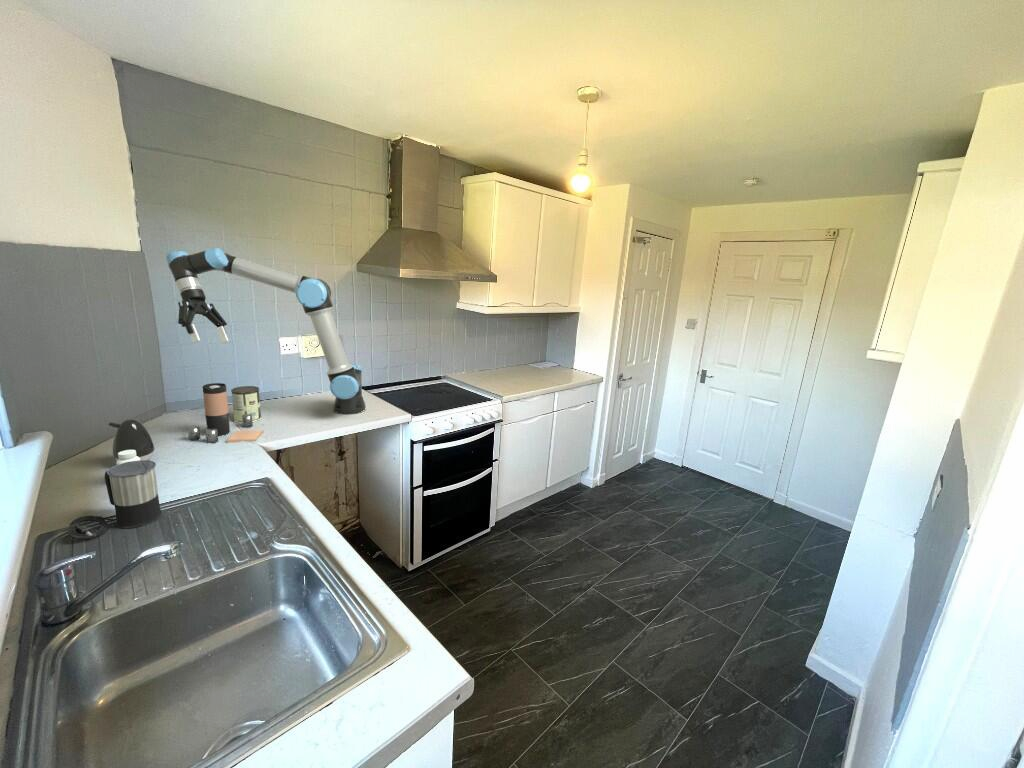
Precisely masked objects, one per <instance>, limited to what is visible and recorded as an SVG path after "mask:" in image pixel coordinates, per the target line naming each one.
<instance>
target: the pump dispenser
mask: <svg viewBox="0 0 1024 768" xmlns="http://www.w3.org/2000/svg"><path fill="white" fill-rule="evenodd" d="M108 426H110V427H112V428H116V430H115V433H114V437H113V441H112V456H113V458H114V459H115V460H116V461H117V460H119V458H118V453H119V452H121V451H125V450H135V451H136V456H138V457H139V458H140V460H148V461H150V459H151V458H152V457H153V455H154V452H155V444H154V442H153V439H152V436H151V435H150V432H149V431H148V429H147V428H146V427H145V425H144V424H143V423H142V422H140V420H137V419H136V418H135V419H134V418H129V419H125V420H123V421H122V422H120V423H116V422H109V423H108Z"/></svg>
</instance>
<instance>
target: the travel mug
mask: <svg viewBox="0 0 1024 768" xmlns="http://www.w3.org/2000/svg"><path fill="white" fill-rule="evenodd" d="M202 395H203V404H204V406H203V407H204V414H205V415H204V416H205V422H206V429H209V428H217V433H218V437H223V436H222V435H224V436H226V434H227V435H229V434H230V433H229V432H231V429H230V411H229V410H230V409H229V401H228V393H227V385H226V384H225V383H221V382H215V383H214V382H213V383H206V384H204V385H202ZM228 433H229V434H228Z"/></svg>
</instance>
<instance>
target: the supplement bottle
mask: <svg viewBox="0 0 1024 768" xmlns="http://www.w3.org/2000/svg"><path fill="white" fill-rule="evenodd" d="M118 458H119V460H116V462H115V464H116V465H118V464H122V463H125V462H130V461H138V460H140V458H139V457H138V456H136V451H135V450H125V451H121V452H119V453H118ZM116 465H115V466H116Z"/></svg>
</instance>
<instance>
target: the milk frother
mask: <svg viewBox="0 0 1024 768" xmlns="http://www.w3.org/2000/svg"><path fill="white" fill-rule="evenodd" d="M156 465H157V464H156V462H155V461H153V460H138V461H130V462H125V463H122V464H118V465H113V466H112V467H110V468H108V469H107V470H106V471H105V473H104V482H105V486H106V491H107V496H108V499H109V504H110V505H112V506H114V511H115V518H108V517H104V516H98V515H84V516H80V517H77V518H75V519H74V520H72V521H71V522H70V523H69V524H68V526H67V530H66V533H67V536H69V538H71V539H73V540H76V541H77V540H78V541H85V540H91V539H94V538H96V537H99V536H101V535H103V534H104V533H105V532H106V531H107V530H108V527H109V523H108V522H107V521H115V523H114V524H115V526H116V527H117V528H120V529H134V528H140V527H143V526H147V525H148V524H152V523H153V522H155V521H157V520H158V519H159V518H161V517H162V515H163V510H162V509H161V504H160V500H159V497H160V496H159V493H158V492H159V491H158V489H159V488H158V481H157V475H156ZM87 522H93V523H94V522H95V523H98V524H99V525H100V528H99V529H98V530H96V531H95V532H92V527H86V526H84V525H81V524H83V523H87ZM91 532H92V533H91Z"/></svg>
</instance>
